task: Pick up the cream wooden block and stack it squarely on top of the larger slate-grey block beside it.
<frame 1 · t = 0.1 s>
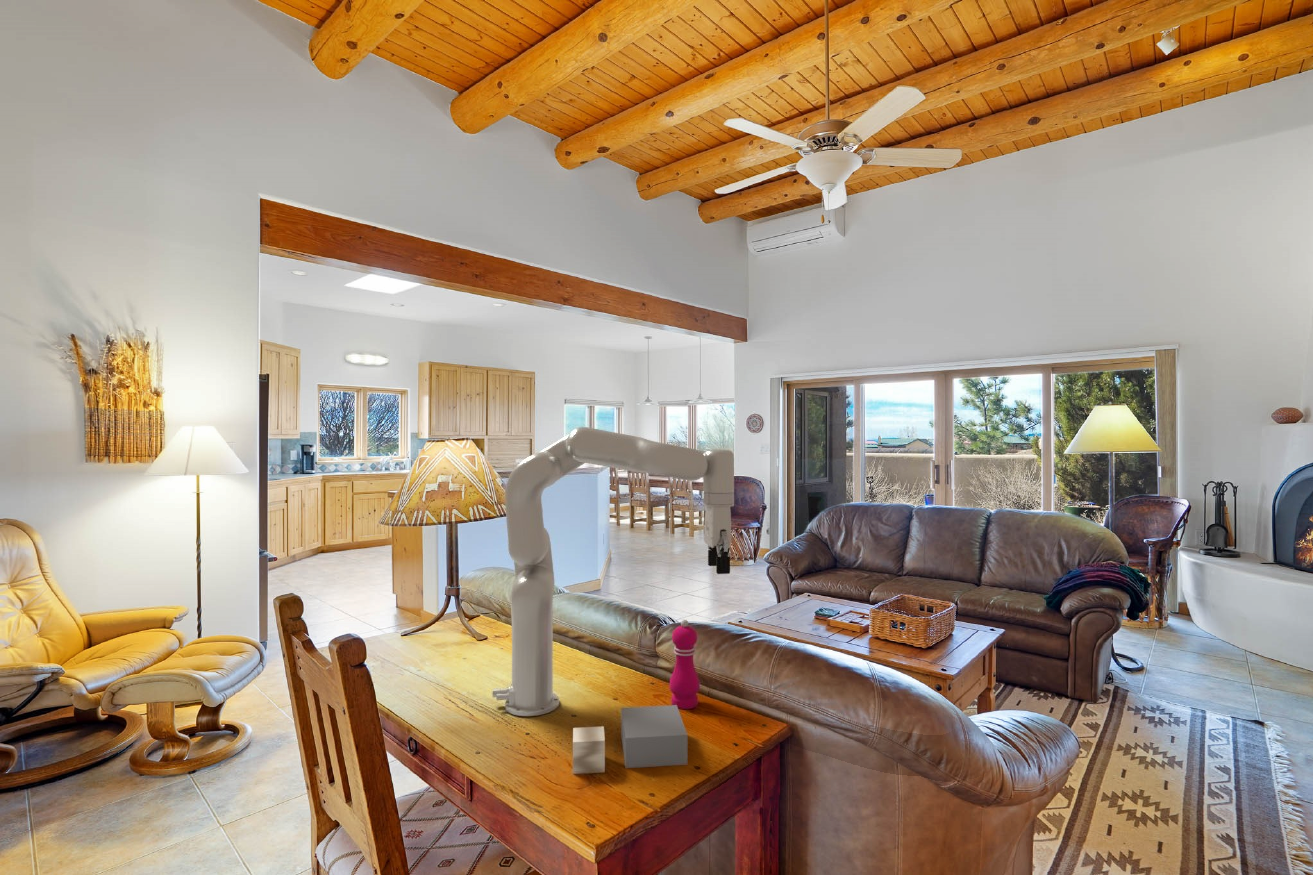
hand: (718, 569, 154), 31 cm above the table, tool pointing down, fingers open, 9 cm apart
pepper mill: (684, 704, 150), on the table
cream block: (588, 765, 121), on the table
slate block: (652, 750, 128), on the table
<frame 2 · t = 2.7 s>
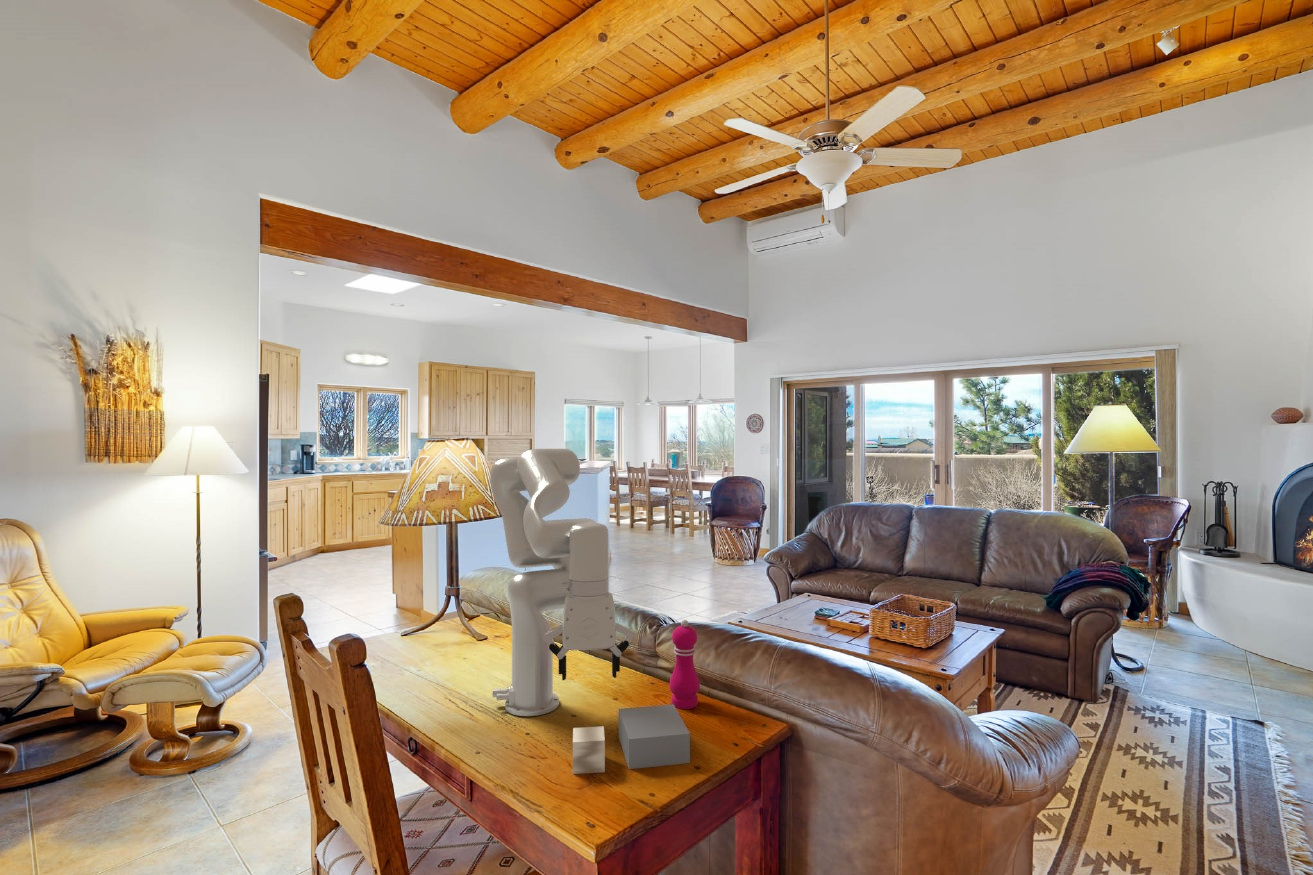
hand: (589, 676, 121), 17 cm above the table, tool pointing down, fingers open, 9 cm apart
nothing on the table moved.
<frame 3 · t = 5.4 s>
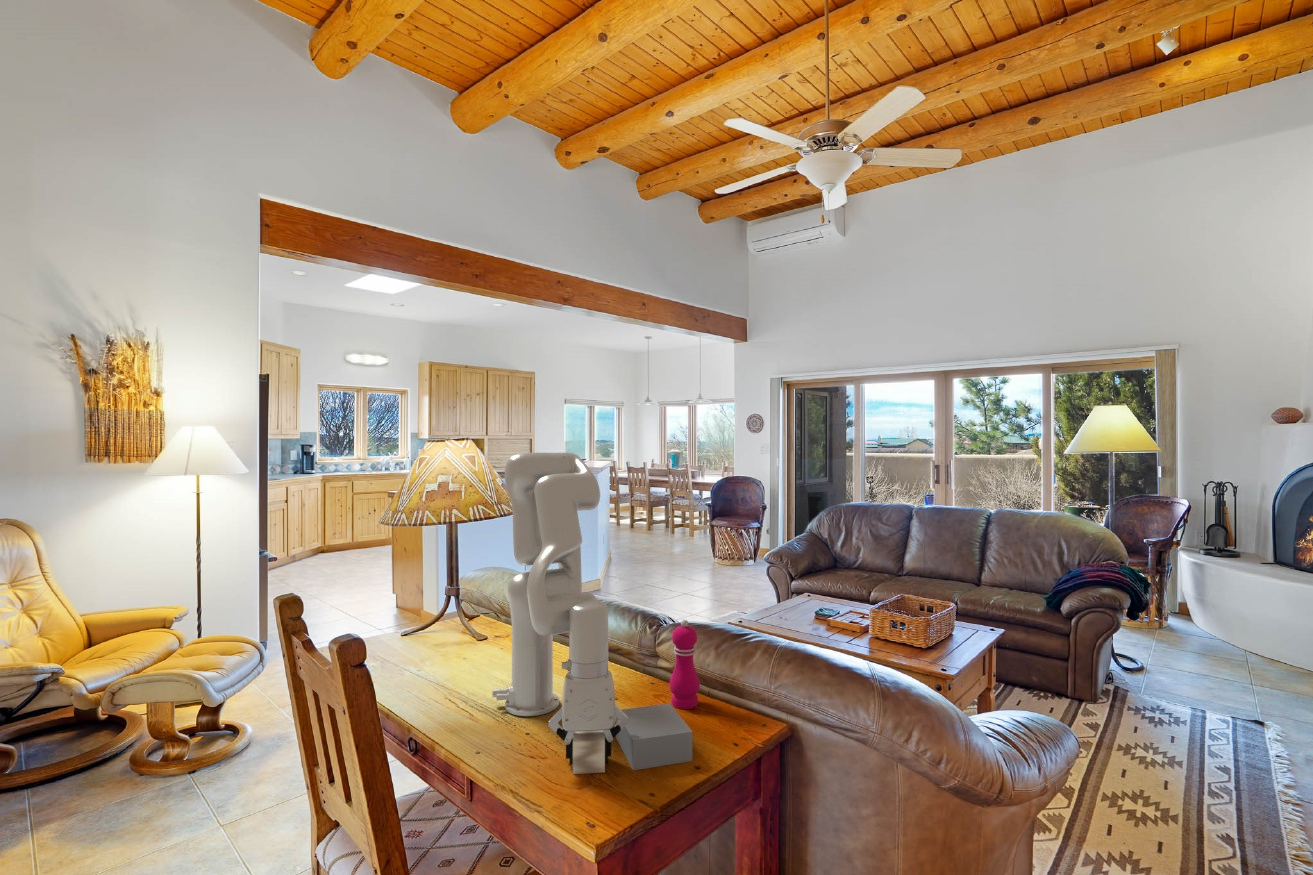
hand: (588, 759, 121), 1 cm above the table, tool pointing down, fingers closed on cream block, 6 cm apart
cream block: (588, 764, 121), on the table, touching gripper
everything else where it was.
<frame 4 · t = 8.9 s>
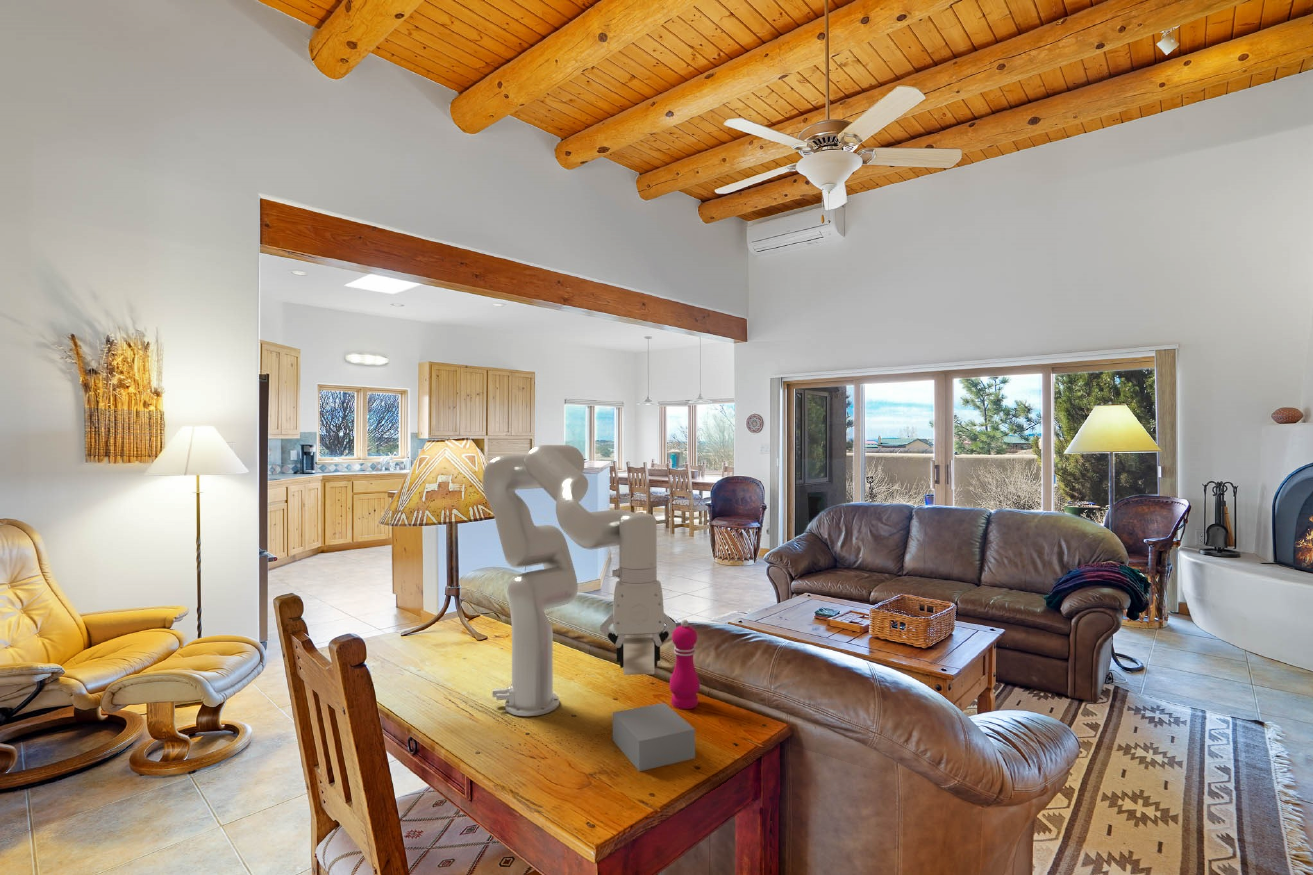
hand: (638, 664, 126), 18 cm above the table, tool pointing down, fingers closed on cream block, 6 cm apart
cream block: (638, 669, 126), point 17 cm above the table, touching gripper
when the fingers open (8 cm above the table, at t = 12.6 s): cream block drops 2 cm, resting on slate block.
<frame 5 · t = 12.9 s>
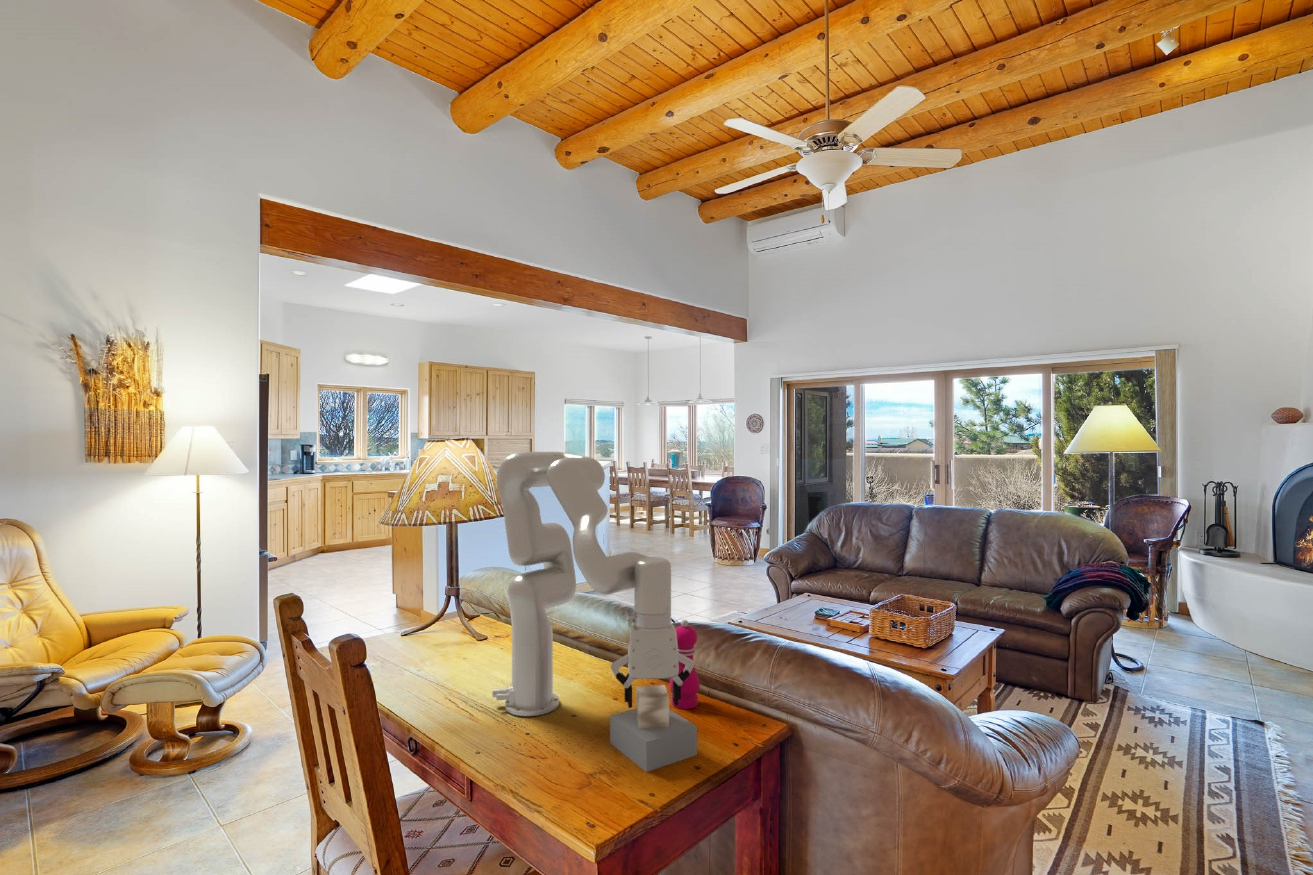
hand: (652, 703, 128), 9 cm above the table, tool pointing down, fingers open, 9 cm apart
cream block: (652, 720, 128), point 6 cm above the table, touching slate block
slate block: (652, 750, 128), on the table, touching cream block
everything else where it was.
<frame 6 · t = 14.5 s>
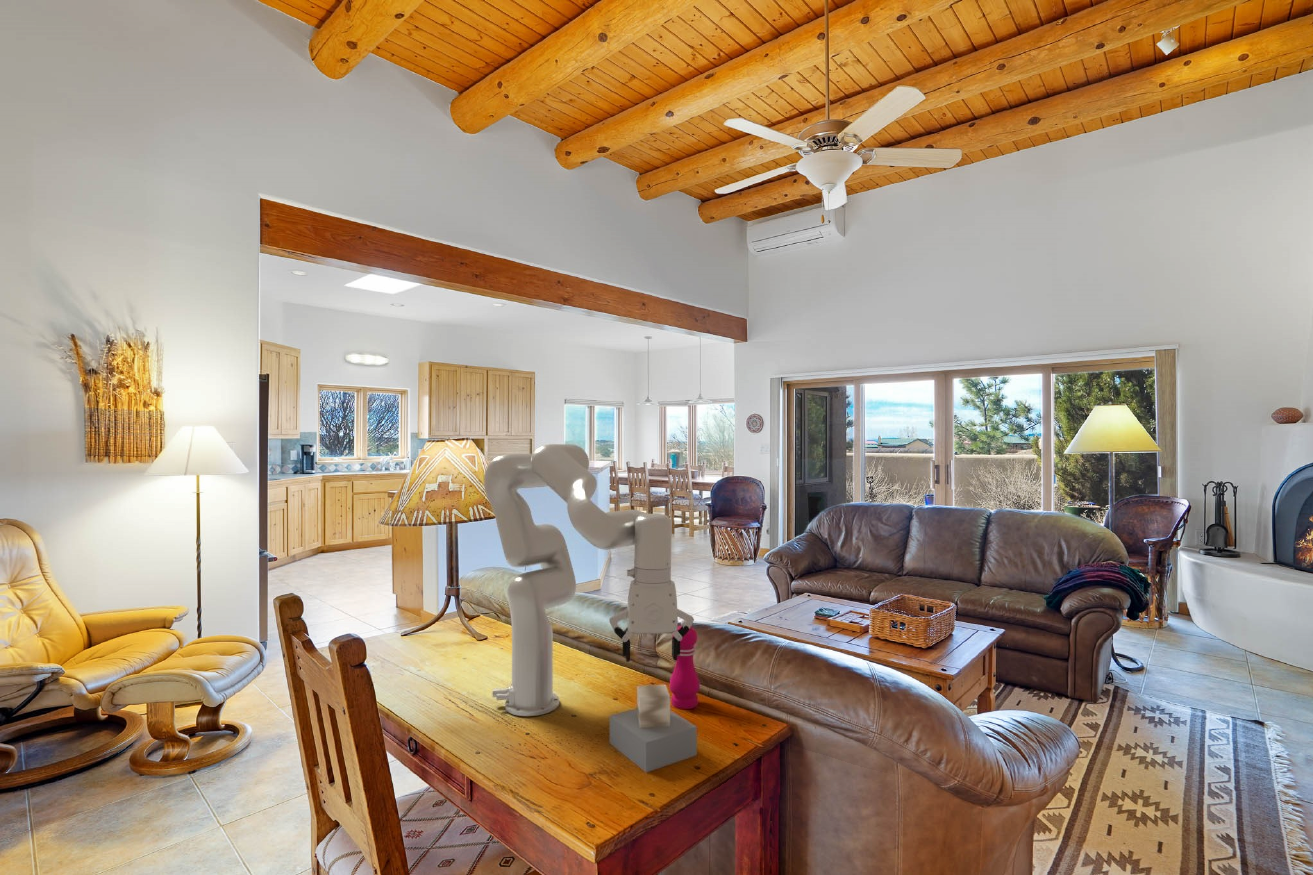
hand: (651, 658, 128), 18 cm above the table, tool pointing down, fingers open, 9 cm apart
nothing on the table moved.
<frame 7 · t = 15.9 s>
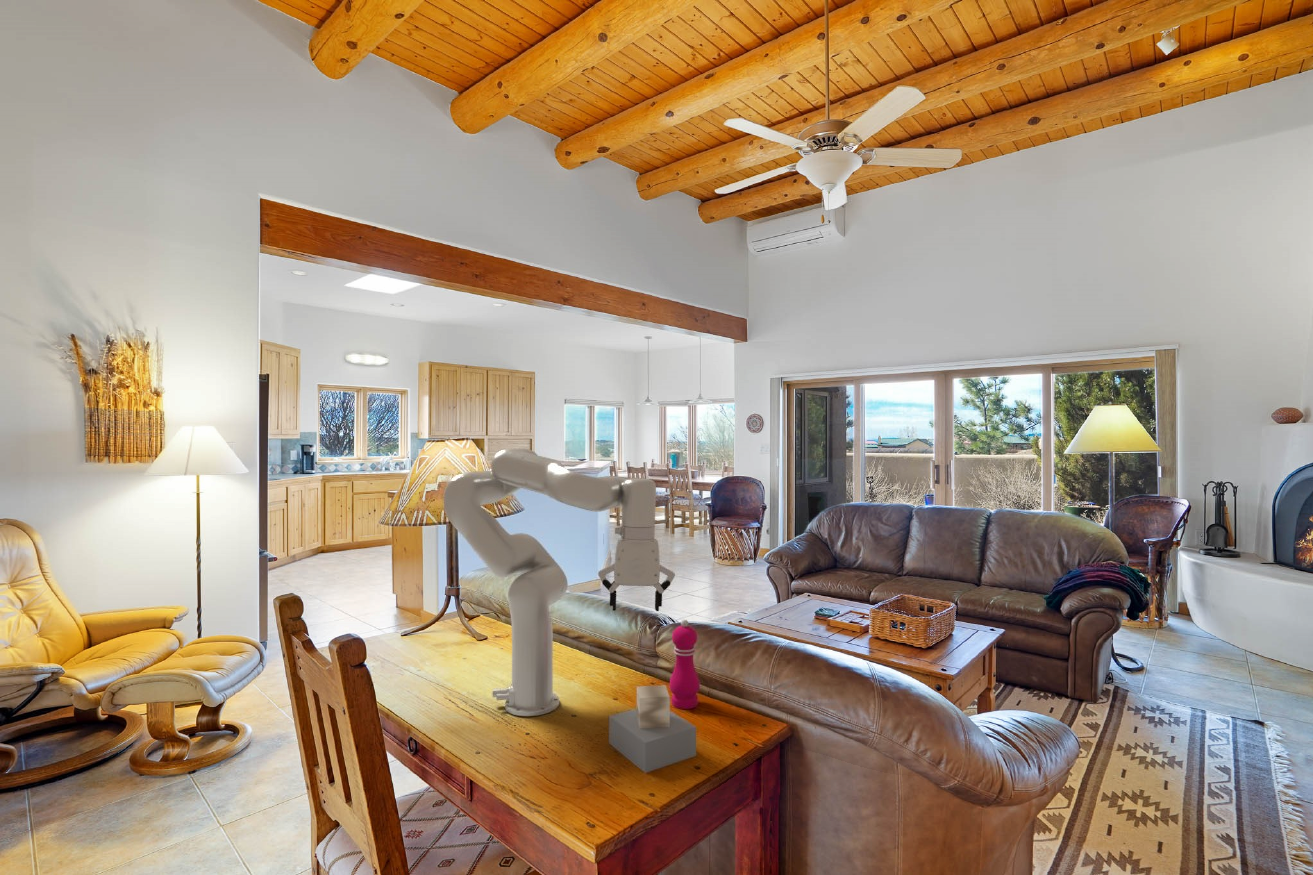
hand: (635, 609, 142), 25 cm above the table, tool pointing down, fingers open, 9 cm apart
nothing on the table moved.
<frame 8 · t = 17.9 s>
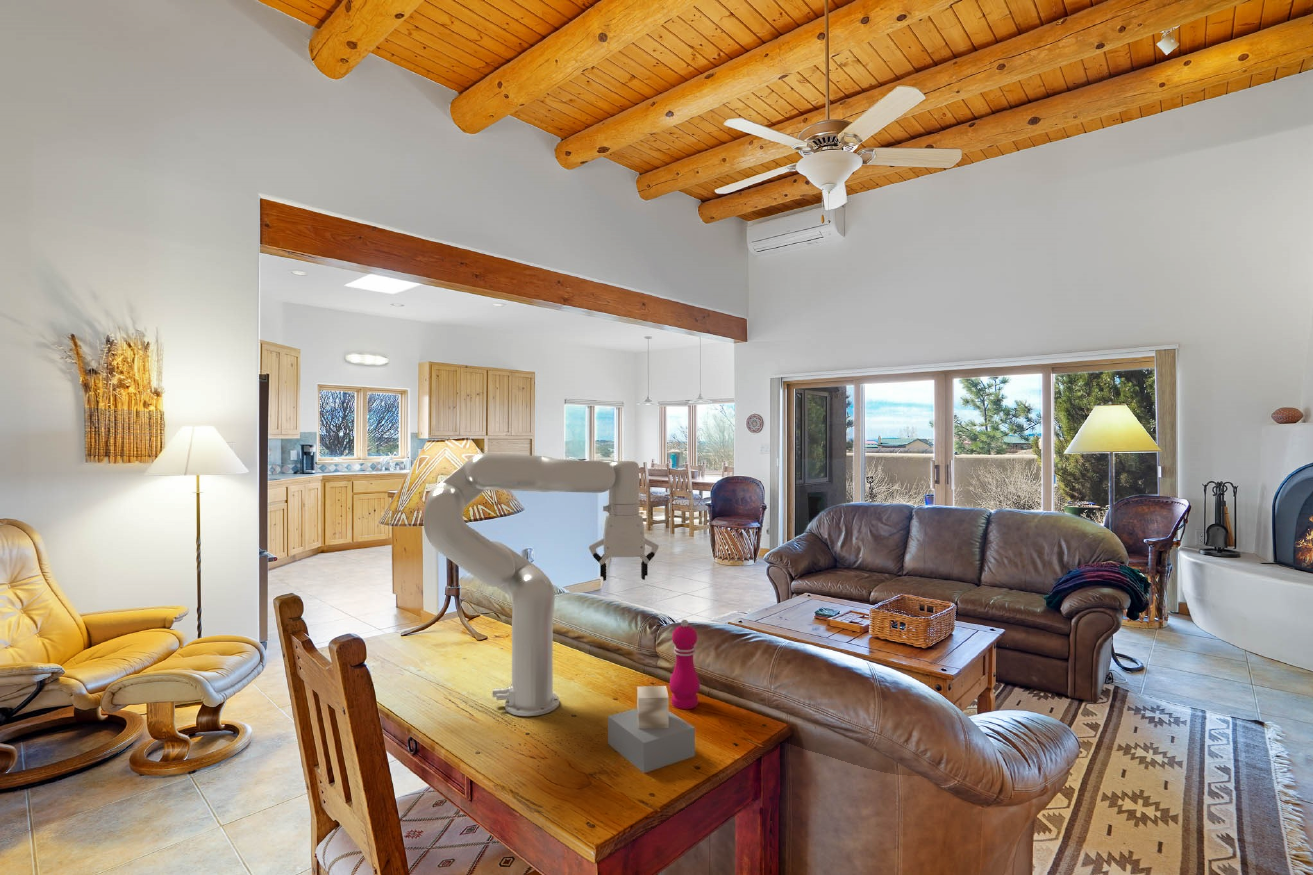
hand: (623, 579, 156), 28 cm above the table, tool pointing down, fingers open, 9 cm apart
nothing on the table moved.
at the end: cream block inside the target area on the slate block (0.4 cm from its centre), point 6.0 cm above the slate block's base; cream block tilted 0°; the gripper is holding nothing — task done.
